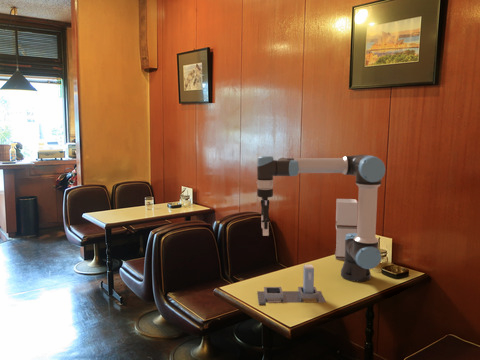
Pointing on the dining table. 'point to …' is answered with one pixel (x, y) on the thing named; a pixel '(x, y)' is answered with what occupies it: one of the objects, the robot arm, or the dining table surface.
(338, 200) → the white rectangular tower
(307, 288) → the plug
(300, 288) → the panel
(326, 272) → the dining table surface
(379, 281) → the dining table surface
